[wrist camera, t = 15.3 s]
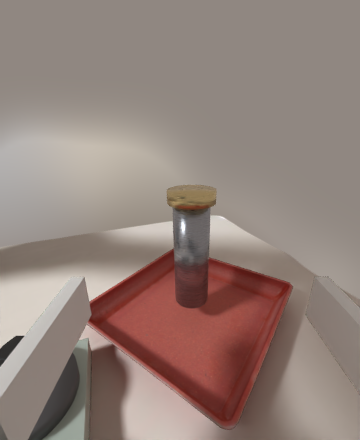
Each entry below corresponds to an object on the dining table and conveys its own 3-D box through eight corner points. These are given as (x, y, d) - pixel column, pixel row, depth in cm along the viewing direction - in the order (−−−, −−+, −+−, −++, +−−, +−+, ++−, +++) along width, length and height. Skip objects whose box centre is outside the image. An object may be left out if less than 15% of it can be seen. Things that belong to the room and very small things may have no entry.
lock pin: (166, 289, 27) (161, 187, 22) (202, 281, 28) (204, 183, 24) (178, 316, 22) (175, 198, 18) (219, 305, 24) (225, 193, 20)
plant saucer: (77, 334, 25) (71, 310, 24) (175, 262, 38) (175, 245, 37) (229, 466, 15) (233, 436, 13) (290, 305, 28) (294, 283, 27)
